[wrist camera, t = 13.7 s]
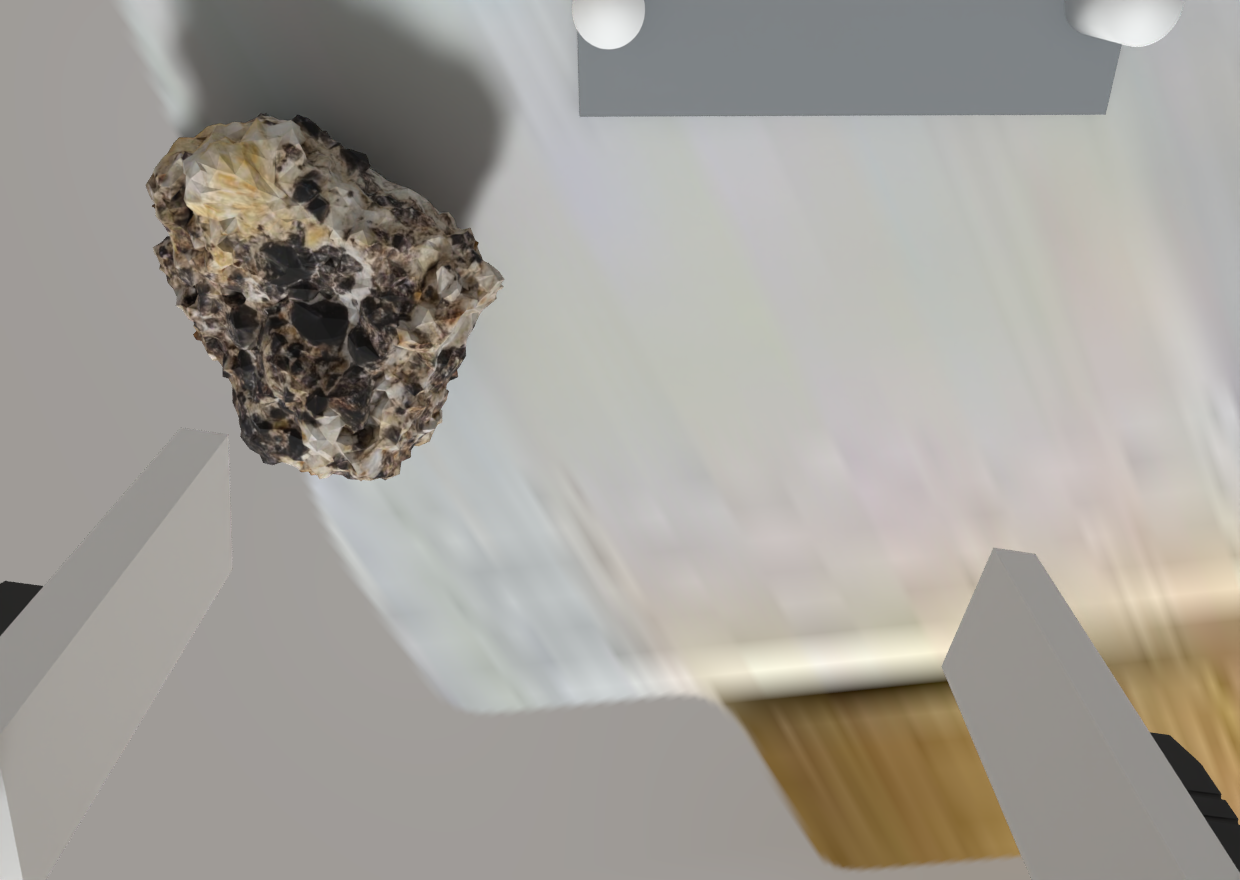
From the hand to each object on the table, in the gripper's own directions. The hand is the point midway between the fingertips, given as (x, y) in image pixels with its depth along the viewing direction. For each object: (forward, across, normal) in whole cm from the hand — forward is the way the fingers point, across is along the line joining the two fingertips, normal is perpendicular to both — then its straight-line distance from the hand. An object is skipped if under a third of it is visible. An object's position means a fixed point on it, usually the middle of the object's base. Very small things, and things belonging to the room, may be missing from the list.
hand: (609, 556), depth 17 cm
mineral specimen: (+35, -12, -8) cm, 38 cm away
